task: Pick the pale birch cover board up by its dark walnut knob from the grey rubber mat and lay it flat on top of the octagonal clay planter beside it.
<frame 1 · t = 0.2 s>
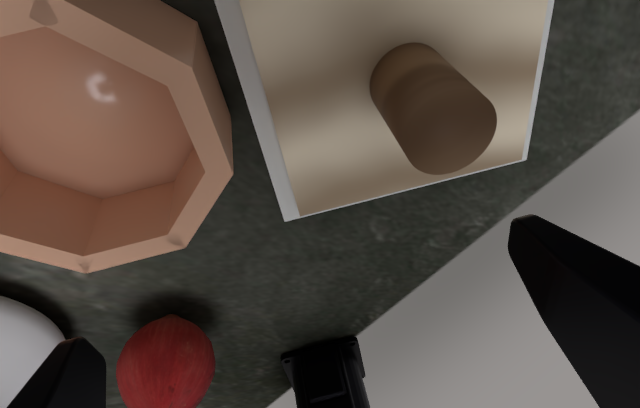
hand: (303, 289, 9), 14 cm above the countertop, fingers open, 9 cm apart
cover board: (400, 73, 21), resting on mat
onion: (172, 315, 30), on the countertop
mat: (396, 69, 21), on the countertop
octagonal clay planter: (97, 101, 19), on the countertop
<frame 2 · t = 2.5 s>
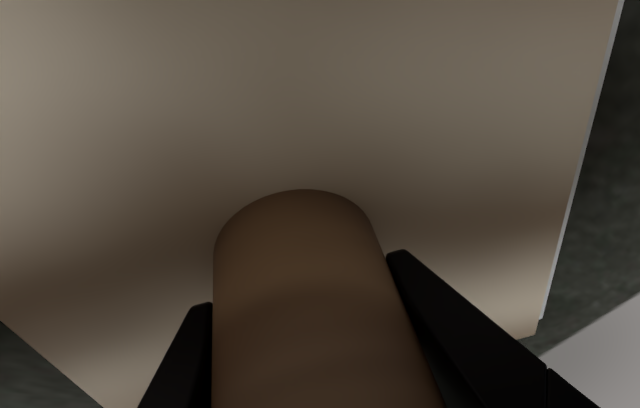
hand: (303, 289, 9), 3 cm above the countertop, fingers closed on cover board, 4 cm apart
cover board: (290, 224, 10), resting on mat, touching gripper
mat: (287, 211, 11), on the countertop
when the fingers open (8 cm above the countertop, at t = 6.4 s): cover board drops 1 cm, resting on octagonal clay planter.
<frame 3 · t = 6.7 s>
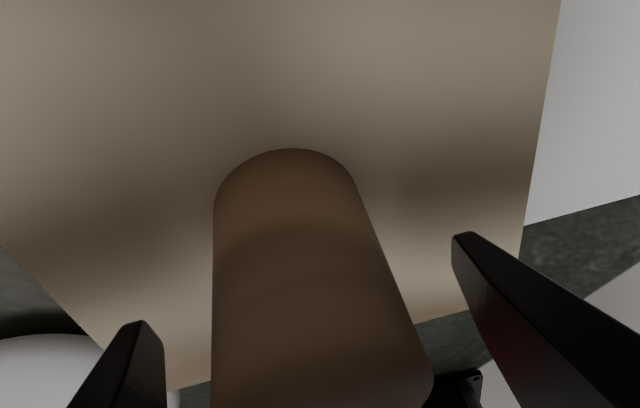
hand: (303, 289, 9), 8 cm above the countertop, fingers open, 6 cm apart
cover board: (283, 186, 11), point 5 cm above the countertop, touching octagonal clay planter
mat: (625, 59, 17), on the countertop
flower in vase: (55, 373, 23), on the countertop
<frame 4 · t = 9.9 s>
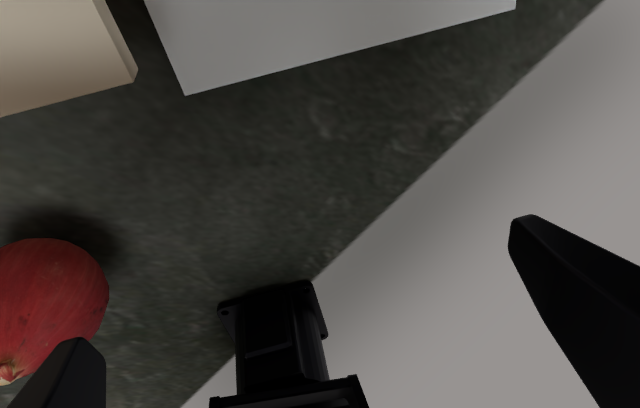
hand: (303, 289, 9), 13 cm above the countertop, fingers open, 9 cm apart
onion: (62, 243, 23), on the countertop
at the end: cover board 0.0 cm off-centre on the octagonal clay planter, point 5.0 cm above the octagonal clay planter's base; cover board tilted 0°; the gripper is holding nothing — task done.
